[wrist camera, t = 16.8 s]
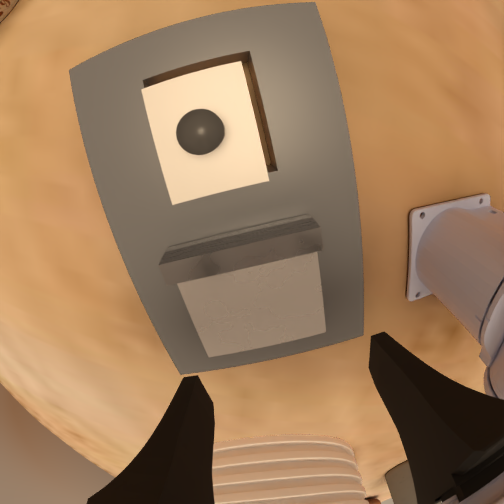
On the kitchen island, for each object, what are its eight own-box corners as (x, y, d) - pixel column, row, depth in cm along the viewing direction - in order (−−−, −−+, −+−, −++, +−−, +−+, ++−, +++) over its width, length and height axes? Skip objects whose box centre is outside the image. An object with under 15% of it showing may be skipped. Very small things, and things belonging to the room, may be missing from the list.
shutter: (309, 213, 15) (320, 227, 13) (323, 326, 18) (332, 348, 16) (167, 247, 15) (158, 265, 13) (209, 351, 19) (207, 374, 17)
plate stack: (139, 445, 30) (127, 514, 19) (350, 409, 28) (378, 490, 17) (216, 498, 41) (217, 542, 30) (352, 473, 39) (365, 519, 29)
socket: (304, 17, 13) (315, 2, 10) (352, 315, 22) (363, 335, 19) (88, 75, 13) (69, 70, 11) (184, 352, 22) (180, 374, 20)
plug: (238, 85, 14) (242, 50, 8) (257, 164, 16) (274, 188, 10) (172, 102, 15) (128, 84, 8) (192, 180, 17) (164, 215, 10)
